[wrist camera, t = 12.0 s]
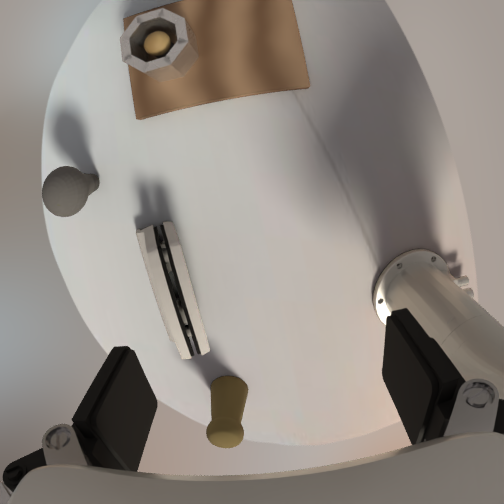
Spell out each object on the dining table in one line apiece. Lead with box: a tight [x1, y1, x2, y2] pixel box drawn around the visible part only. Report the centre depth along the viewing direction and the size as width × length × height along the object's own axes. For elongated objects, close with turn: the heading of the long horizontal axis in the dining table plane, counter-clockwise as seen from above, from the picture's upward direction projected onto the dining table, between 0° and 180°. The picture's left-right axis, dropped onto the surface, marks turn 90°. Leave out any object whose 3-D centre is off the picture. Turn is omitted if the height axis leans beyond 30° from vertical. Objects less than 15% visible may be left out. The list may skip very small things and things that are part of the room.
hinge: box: [136, 222, 210, 359], centre depth 37 cm, size 17×5×10 cm, turn 10°
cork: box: [206, 376, 248, 448], centre depth 42 cm, size 6×6×11 cm
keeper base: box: [123, 0, 310, 120], centre depth 27 cm, size 20×14×7 cm
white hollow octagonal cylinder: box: [120, 8, 199, 82], centre depth 27 cm, size 7×7×6 cm
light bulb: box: [42, 166, 99, 217], centre depth 32 cm, size 6×6×10 cm
